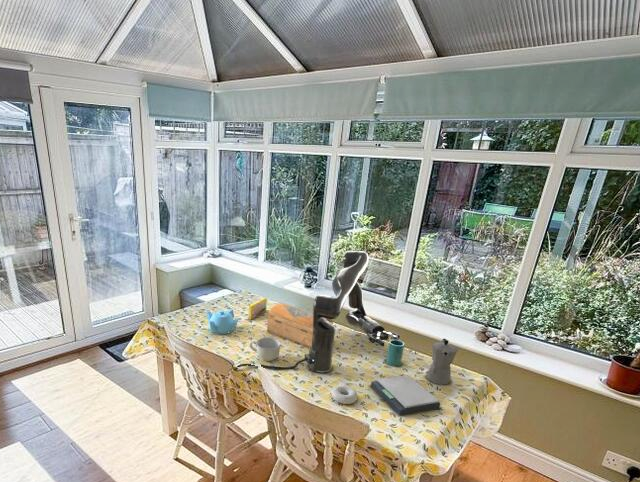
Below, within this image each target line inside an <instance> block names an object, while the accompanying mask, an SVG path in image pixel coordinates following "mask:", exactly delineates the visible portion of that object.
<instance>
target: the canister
mask: <svg viewBox="0 0 640 482" xmlns="http://www.w3.org/2000/svg"><path fill="white" fill-rule="evenodd" d="M400 340H401V339H400ZM400 340H390V341H388V346H387V353H386V360H385V361H386V364H387V365H389V366H392V367H400V366H402V361H403V356H404V350H405V341H404V342H403V341H402V340H401V341H400Z"/></svg>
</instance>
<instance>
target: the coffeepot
mask: <svg viewBox="0 0 640 482" xmlns="http://www.w3.org/2000/svg"><path fill="white" fill-rule="evenodd" d="M449 342H450V341H449V340H448V339H446V338H442V340H441V341H435V343H433V344H432V356H431V357H432V358H431V359H432V363H431V364H430V367H429V369H428V371H427V373H426V378H427V380H429V381H430V382H431V383H434V384H438V385H448V384H449V383H450V382H451V376H452V375H451V374H452V373H451V370H452V369H451V365H452V363H453V362H454V360H455V357H456V354H457V352H458V350H459V349H458V348H457V347H456V346H455V345H454V344H452V343H449Z"/></svg>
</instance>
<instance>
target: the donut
mask: <svg viewBox="0 0 640 482" xmlns="http://www.w3.org/2000/svg"><path fill="white" fill-rule="evenodd" d="M330 395H331V398H332V399H333V400H334V401H335V402H337V403H339V404H342V405H351V404H353V403H355V402H356V401H357V400H358V397H359V395H358V392H357V390H356V389H354V388H353V387H351V386H348V385H337V386H335V387H334V388H332V390H331V392H330Z"/></svg>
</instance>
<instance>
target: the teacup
mask: <svg viewBox="0 0 640 482" xmlns="http://www.w3.org/2000/svg"><path fill="white" fill-rule="evenodd" d="M253 344H254V345H255V347H256V348H255V347H254V346H253ZM249 349H251V350H252V351H253V352H254V353H255V354H256V355H257V357H258V358H259V359H260V360H262V361H264V362H271V361H274V360H276V359H277V358H279V355H280V351H281V341H280V340H278V339H277V338H274V337H271V336H270V337H269V336H266V337H261V338H259V339H257V341H256V340H251V341H250V342H249Z"/></svg>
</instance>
